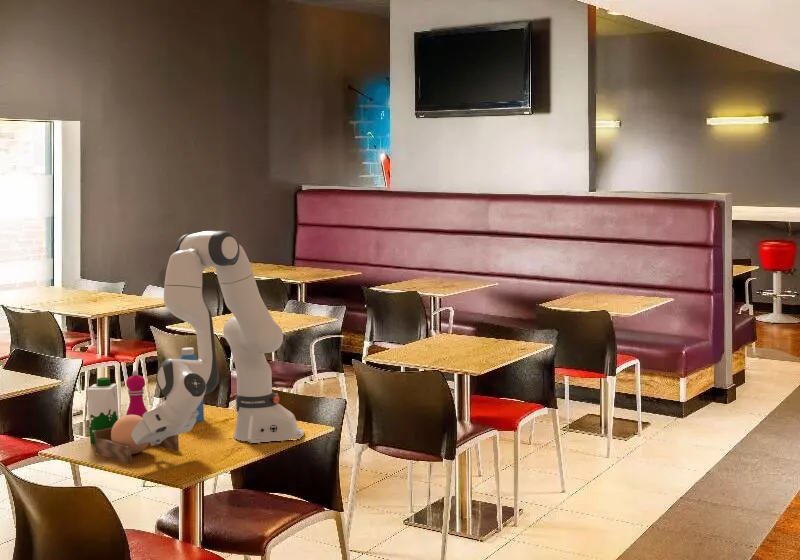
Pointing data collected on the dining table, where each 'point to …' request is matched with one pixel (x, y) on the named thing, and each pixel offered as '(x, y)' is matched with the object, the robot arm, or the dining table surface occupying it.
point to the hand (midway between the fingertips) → (154, 442)
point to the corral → (124, 446)
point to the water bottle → (189, 355)
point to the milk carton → (102, 406)
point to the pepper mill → (136, 395)
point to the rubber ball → (127, 432)
